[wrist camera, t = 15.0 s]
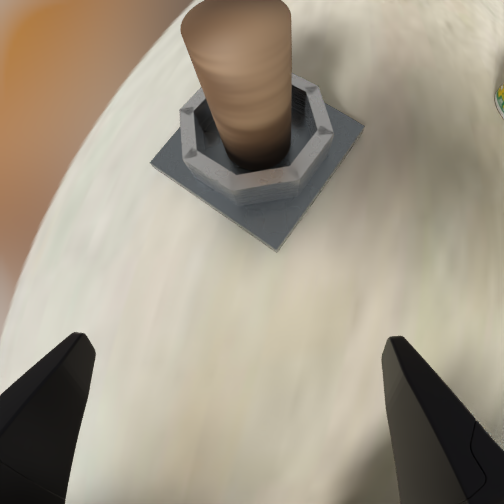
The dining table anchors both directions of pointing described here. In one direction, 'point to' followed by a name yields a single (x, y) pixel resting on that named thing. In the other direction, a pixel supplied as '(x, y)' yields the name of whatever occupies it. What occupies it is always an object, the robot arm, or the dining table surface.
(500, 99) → the supplement bottle
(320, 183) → the dock
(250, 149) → the peg
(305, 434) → the dining table surface
